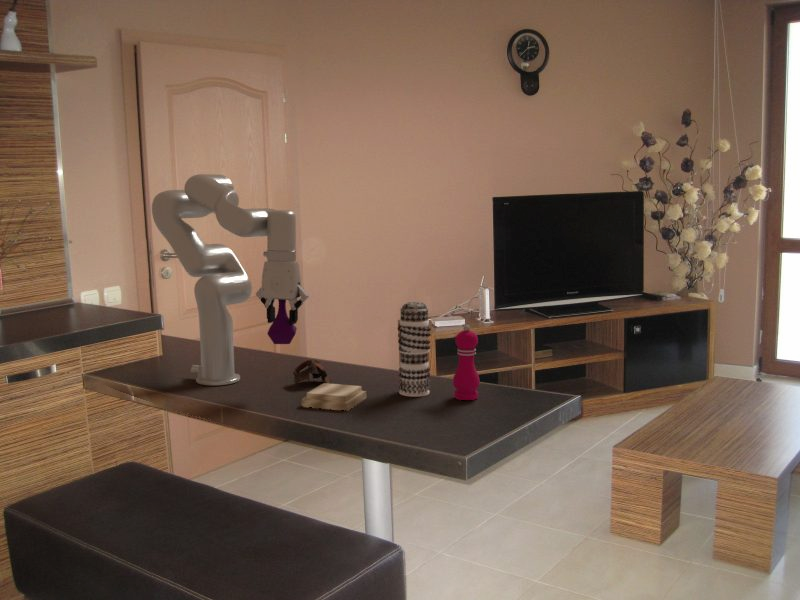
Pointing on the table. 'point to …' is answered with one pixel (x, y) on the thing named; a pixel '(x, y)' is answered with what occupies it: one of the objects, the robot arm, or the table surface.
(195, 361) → the table surface
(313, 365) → the pottery mug
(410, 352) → the decorative candle
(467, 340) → the pepper mill
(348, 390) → the plinth
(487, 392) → the table surface
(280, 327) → the perfume bottle
